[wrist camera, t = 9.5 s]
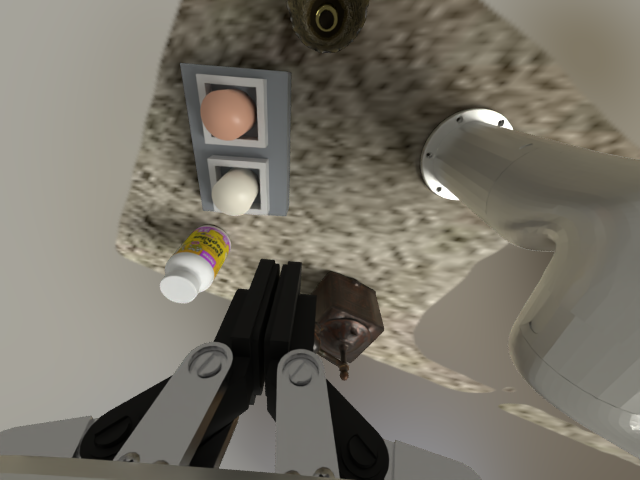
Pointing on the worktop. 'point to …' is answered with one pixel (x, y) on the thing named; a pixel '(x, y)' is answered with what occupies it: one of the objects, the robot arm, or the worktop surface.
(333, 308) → the dark brown coffee grinder
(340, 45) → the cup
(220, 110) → the brown egg
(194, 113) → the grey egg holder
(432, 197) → the worktop surface
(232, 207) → the knob cream
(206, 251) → the supplement bottle
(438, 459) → the robot arm
